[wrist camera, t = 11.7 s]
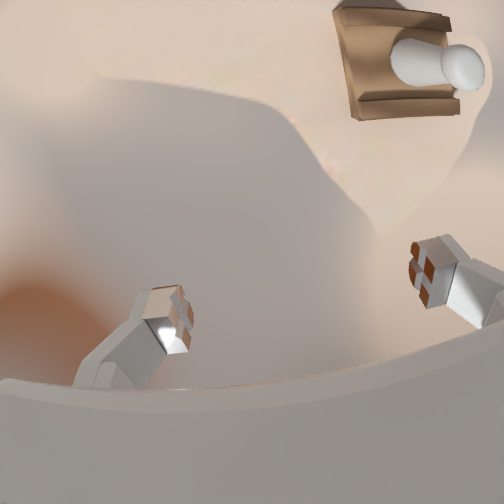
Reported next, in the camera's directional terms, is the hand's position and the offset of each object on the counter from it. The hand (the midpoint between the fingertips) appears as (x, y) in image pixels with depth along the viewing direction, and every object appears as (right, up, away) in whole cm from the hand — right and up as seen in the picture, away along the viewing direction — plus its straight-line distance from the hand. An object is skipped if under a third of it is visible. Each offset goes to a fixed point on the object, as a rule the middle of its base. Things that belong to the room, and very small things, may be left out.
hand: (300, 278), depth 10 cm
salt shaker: (+16, +23, +16) cm, 32 cm away
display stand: (+16, +24, +19) cm, 35 cm away
